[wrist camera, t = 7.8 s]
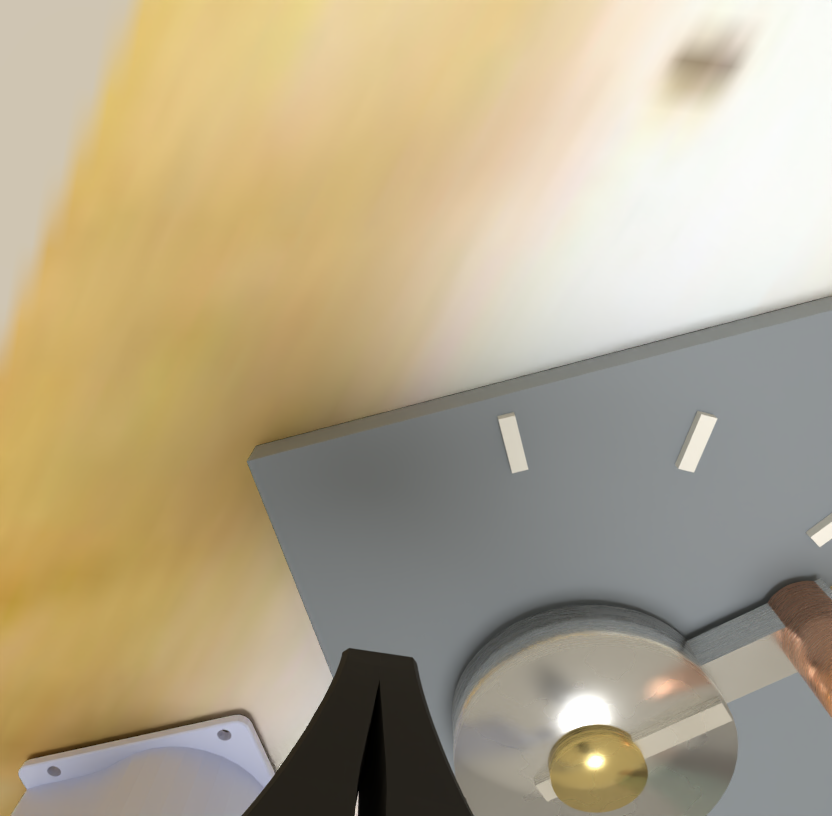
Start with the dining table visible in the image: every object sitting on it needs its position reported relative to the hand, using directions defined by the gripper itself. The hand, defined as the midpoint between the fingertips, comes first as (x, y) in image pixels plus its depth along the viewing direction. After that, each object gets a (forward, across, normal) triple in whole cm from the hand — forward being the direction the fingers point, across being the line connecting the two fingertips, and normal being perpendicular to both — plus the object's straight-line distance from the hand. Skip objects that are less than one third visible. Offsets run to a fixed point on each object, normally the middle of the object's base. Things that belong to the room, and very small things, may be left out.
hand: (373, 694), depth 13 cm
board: (+10, -9, +6) cm, 14 cm away
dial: (+8, -10, +6) cm, 14 cm away
